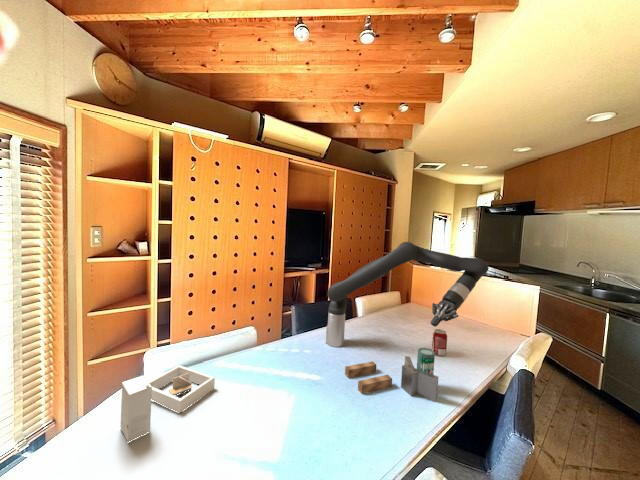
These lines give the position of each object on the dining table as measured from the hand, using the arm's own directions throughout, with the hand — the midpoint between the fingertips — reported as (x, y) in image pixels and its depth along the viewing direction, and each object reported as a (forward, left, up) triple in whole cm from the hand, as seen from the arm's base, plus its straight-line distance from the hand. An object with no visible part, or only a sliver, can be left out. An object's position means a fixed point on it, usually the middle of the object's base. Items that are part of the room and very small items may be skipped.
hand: (432, 325), depth 112 cm
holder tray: (-86, -54, -24) cm, 104 cm away
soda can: (+4, +26, -24) cm, 36 cm away
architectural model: (-84, -54, -24) cm, 102 cm away
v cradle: (-6, -12, -24) cm, 27 cm away
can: (-2, -8, -24) cm, 25 cm away
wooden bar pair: (-24, -14, -24) cm, 36 cm away
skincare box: (-82, -72, -24) cm, 111 cm away
